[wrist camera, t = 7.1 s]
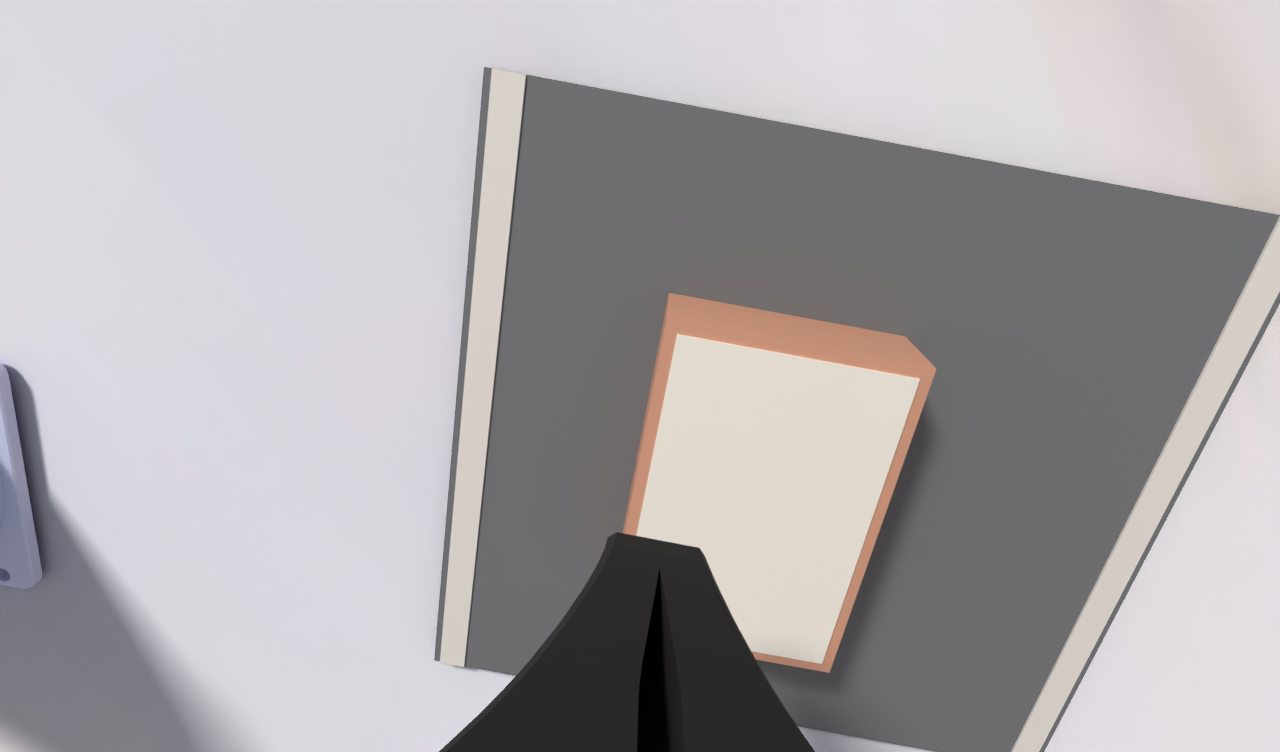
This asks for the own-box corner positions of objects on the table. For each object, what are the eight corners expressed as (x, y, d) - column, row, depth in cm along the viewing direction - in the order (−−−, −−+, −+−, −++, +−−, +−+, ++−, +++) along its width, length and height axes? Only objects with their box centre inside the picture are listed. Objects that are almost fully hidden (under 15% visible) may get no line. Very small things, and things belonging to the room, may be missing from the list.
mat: (438, 651, 23) (433, 661, 23) (488, 67, 17) (483, 66, 16) (1029, 758, 23) (1035, 770, 23) (1307, 220, 17) (1324, 223, 16)
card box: (605, 634, 19) (829, 674, 19) (666, 319, 16) (937, 369, 16) (613, 577, 21) (814, 613, 21) (668, 292, 18) (905, 336, 18)
